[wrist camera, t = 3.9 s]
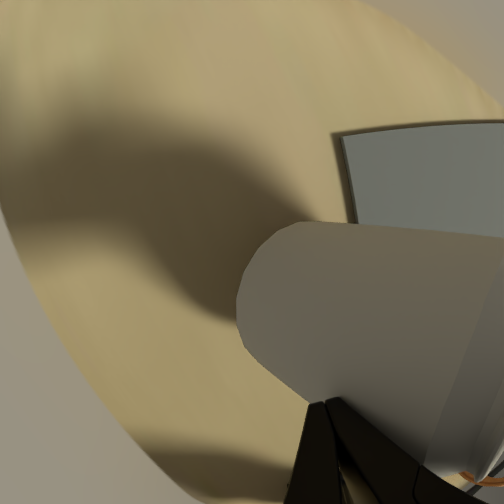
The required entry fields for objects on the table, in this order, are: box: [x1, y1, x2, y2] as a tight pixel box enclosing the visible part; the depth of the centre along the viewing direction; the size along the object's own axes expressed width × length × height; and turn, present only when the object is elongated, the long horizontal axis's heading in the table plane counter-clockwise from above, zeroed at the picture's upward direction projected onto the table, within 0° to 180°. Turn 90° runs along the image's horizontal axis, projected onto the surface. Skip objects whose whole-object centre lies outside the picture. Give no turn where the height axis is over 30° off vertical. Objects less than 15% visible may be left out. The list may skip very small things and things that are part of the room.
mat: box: [340, 123, 504, 238], centre depth 16 cm, size 15×16×1 cm
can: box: [236, 221, 504, 483], centre depth 10 cm, size 8×8×12 cm
